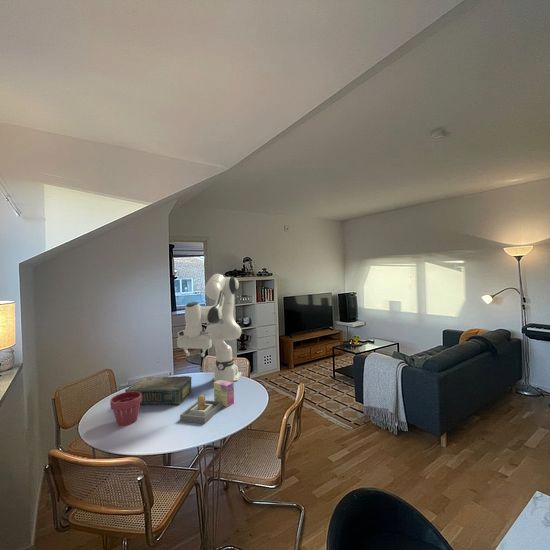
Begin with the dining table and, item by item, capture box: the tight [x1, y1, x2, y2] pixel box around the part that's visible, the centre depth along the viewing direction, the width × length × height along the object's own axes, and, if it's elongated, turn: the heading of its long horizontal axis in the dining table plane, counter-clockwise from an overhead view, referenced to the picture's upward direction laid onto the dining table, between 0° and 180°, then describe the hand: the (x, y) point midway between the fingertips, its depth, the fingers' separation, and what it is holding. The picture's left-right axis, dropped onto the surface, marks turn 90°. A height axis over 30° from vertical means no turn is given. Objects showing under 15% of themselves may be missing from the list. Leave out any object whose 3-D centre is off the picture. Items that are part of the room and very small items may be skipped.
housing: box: [179, 399, 223, 425], centre depth 152 cm, size 18×14×4 cm
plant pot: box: [109, 391, 142, 427], centre depth 147 cm, size 14×14×13 cm
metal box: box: [124, 375, 192, 407], centre depth 174 cm, size 21×32×10 cm, turn 85°
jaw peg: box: [196, 394, 206, 410], centre depth 152 cm, size 4×4×8 cm
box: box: [213, 380, 235, 408], centre depth 164 cm, size 10×6×12 cm, turn 56°
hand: (195, 356), depth 162 cm, fingers open, 8 cm apart
